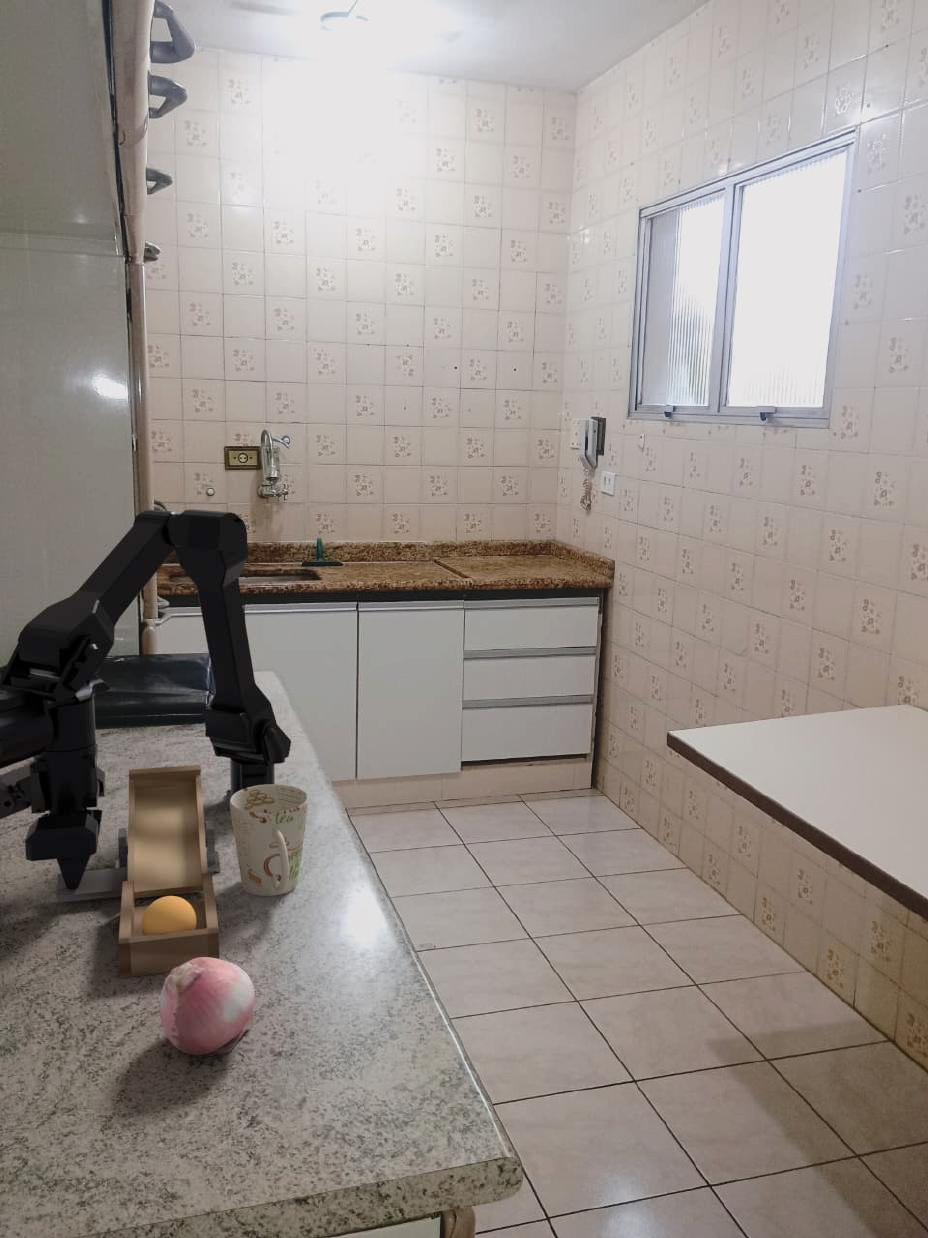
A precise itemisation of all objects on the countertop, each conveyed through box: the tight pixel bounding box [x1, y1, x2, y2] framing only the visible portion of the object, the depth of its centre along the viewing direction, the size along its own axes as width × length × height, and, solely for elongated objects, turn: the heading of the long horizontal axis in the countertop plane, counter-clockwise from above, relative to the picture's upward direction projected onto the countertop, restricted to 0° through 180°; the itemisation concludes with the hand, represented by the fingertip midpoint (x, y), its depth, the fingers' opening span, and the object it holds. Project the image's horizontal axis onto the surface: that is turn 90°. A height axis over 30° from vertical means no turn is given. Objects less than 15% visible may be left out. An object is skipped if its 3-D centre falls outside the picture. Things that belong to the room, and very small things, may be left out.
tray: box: [118, 873, 220, 979], centre depth 97 cm, size 13×9×3 cm
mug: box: [229, 783, 309, 897], centre depth 106 cm, size 8×13×10 cm, turn 25°
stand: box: [114, 820, 221, 874], centre depth 111 cm, size 4×11×5 cm, turn 107°
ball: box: [141, 895, 196, 936], centre depth 94 cm, size 5×5×5 cm
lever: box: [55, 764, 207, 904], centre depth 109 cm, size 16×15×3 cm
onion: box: [158, 957, 256, 1058], centre depth 81 cm, size 8×8×7 cm
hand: (72, 887), depth 102 cm, fingers closed
